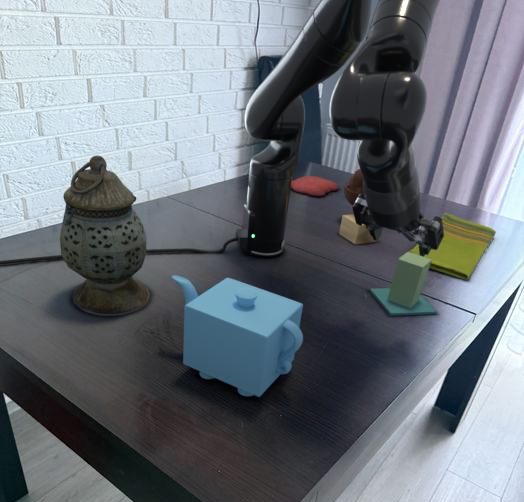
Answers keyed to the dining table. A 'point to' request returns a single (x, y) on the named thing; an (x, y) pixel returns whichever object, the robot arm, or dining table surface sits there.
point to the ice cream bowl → (354, 187)
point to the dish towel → (459, 247)
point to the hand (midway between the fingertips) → (400, 243)
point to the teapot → (240, 334)
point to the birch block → (354, 231)
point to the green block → (409, 279)
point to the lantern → (103, 241)
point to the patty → (313, 186)
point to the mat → (397, 310)
